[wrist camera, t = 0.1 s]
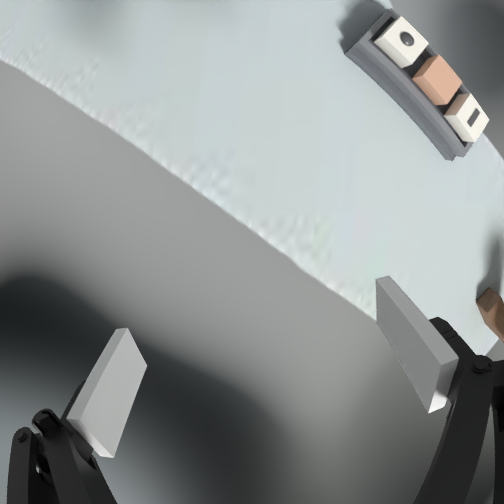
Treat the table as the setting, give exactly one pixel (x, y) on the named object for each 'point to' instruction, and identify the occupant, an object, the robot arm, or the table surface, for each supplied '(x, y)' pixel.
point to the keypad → (408, 88)
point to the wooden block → (492, 311)
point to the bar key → (466, 117)
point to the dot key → (401, 42)
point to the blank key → (437, 80)
